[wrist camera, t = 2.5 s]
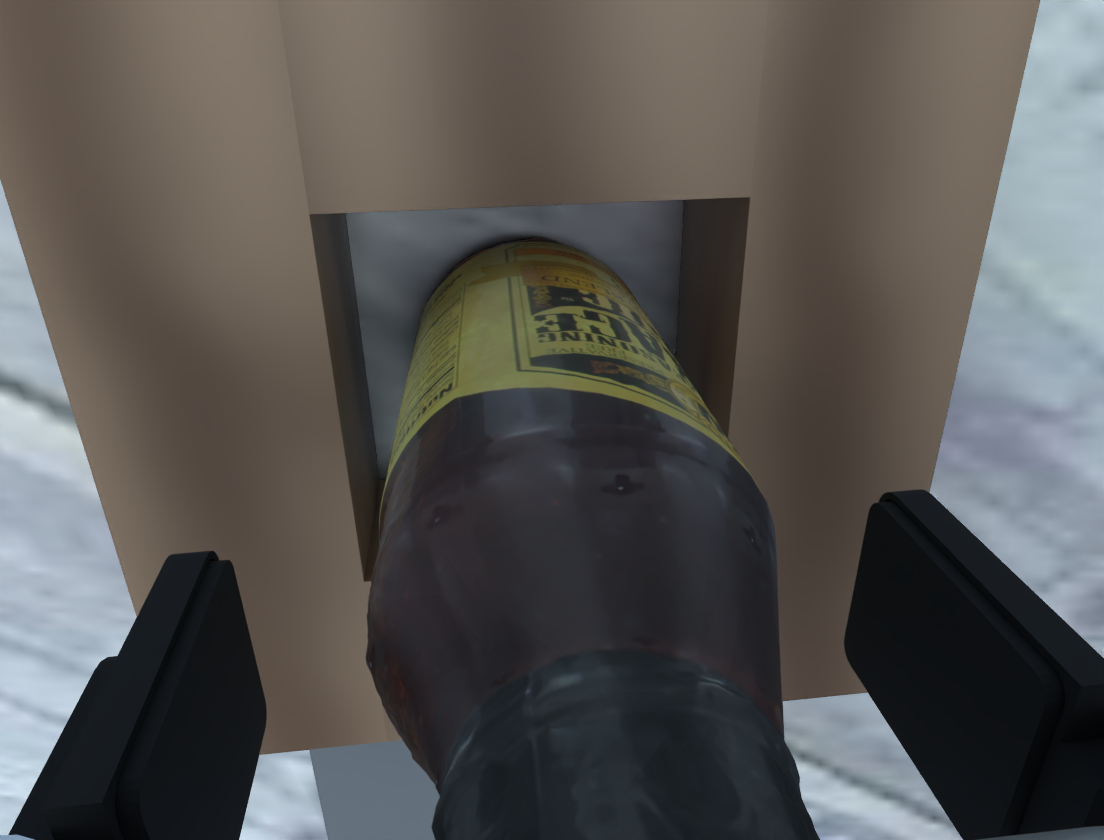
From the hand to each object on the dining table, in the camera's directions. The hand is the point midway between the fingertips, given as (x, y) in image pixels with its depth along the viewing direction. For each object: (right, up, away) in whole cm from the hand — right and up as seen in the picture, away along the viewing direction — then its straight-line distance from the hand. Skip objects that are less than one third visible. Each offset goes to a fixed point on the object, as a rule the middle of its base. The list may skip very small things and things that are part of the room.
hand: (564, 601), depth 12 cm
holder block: (-1, +5, +11) cm, 12 cm away
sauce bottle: (-1, +5, +11) cm, 12 cm away
